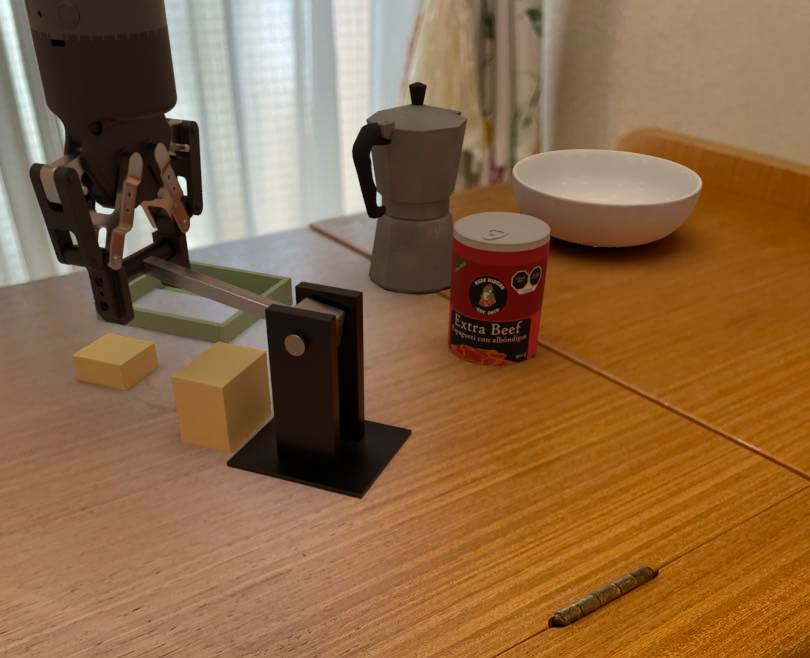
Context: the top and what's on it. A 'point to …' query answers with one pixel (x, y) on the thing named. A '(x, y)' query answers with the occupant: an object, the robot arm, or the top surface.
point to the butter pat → (116, 361)
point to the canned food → (497, 287)
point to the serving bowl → (605, 195)
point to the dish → (198, 328)
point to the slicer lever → (210, 283)
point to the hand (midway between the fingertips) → (148, 302)
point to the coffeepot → (410, 191)
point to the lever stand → (319, 400)
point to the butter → (222, 396)
